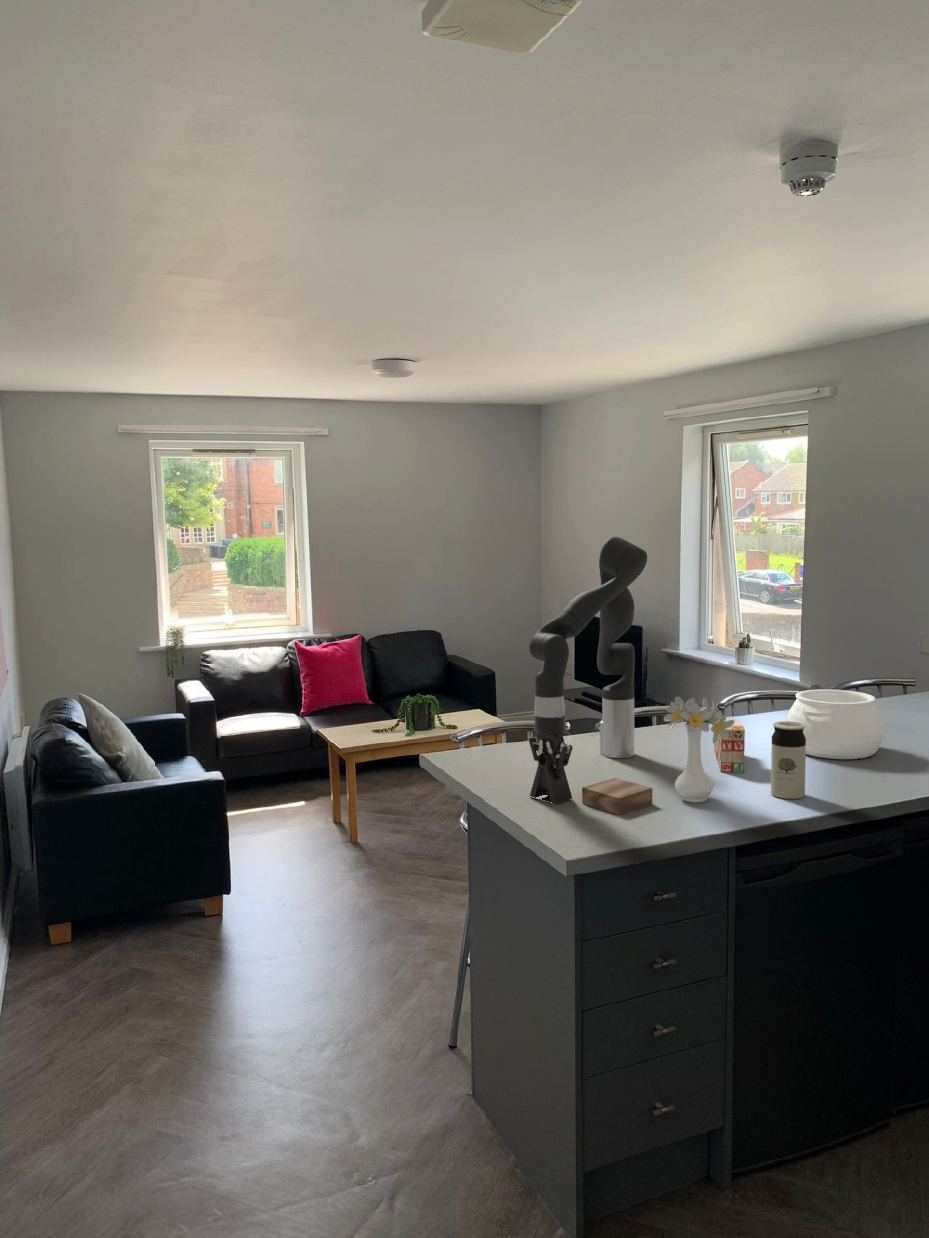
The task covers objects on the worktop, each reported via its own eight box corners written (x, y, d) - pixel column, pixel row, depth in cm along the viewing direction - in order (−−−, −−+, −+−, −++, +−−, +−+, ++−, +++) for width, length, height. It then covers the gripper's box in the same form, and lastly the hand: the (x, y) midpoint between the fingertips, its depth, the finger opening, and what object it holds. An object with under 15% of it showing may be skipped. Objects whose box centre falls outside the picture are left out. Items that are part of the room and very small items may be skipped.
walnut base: (582, 803, 224) (582, 787, 223) (615, 793, 231) (615, 777, 231) (619, 814, 214) (619, 798, 214) (652, 804, 222) (652, 788, 221)
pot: (854, 768, 248) (856, 709, 246) (767, 751, 268) (767, 697, 266) (900, 749, 267) (902, 694, 265) (815, 735, 287) (816, 684, 285)
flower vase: (714, 813, 213) (715, 709, 211) (650, 797, 227) (650, 698, 224) (744, 801, 222) (745, 700, 219) (681, 786, 236) (681, 691, 233)
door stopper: (529, 797, 229) (528, 751, 228) (545, 792, 233) (544, 746, 232) (556, 805, 223) (555, 757, 221) (572, 799, 227) (571, 752, 225)
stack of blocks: (713, 752, 269) (713, 712, 267) (735, 753, 268) (735, 712, 266) (720, 772, 248) (721, 728, 246) (744, 773, 247) (745, 728, 245)
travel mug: (777, 788, 232) (778, 719, 230) (809, 793, 227) (810, 723, 225) (766, 796, 226) (766, 725, 224) (798, 802, 221) (799, 729, 219)
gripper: (519, 711, 229) (520, 777, 231) (558, 719, 218) (559, 789, 220) (541, 706, 234) (542, 772, 235) (580, 715, 223) (581, 783, 224)
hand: (550, 780), depth 228 cm, fingers closed on door stopper, 3 cm apart
